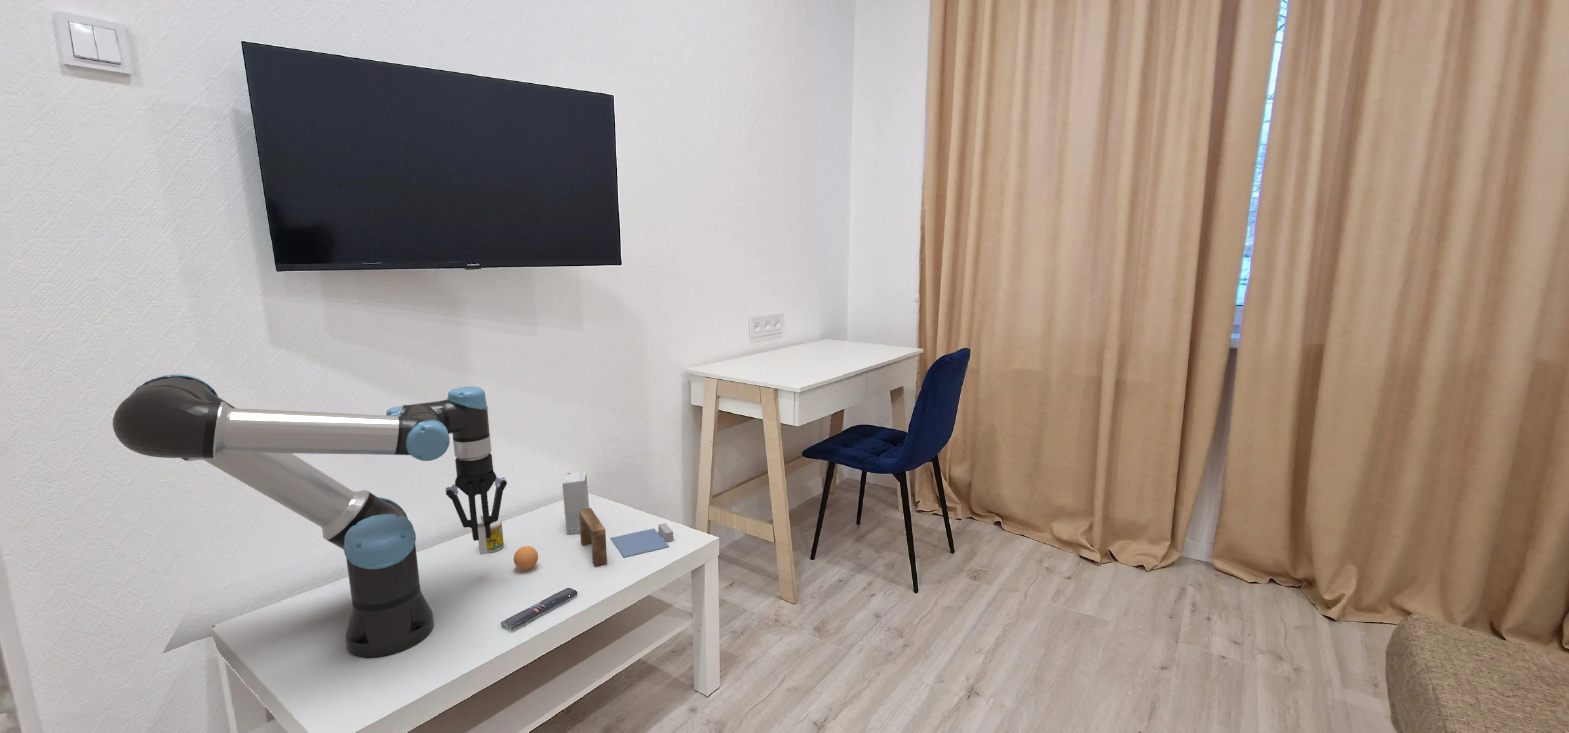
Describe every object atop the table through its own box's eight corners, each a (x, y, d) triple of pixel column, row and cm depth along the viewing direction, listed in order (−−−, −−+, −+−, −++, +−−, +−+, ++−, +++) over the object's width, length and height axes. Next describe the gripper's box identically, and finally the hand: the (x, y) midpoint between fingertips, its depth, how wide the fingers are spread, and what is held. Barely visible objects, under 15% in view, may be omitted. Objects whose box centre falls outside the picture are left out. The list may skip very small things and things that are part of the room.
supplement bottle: (506, 543, 172) (503, 508, 170) (500, 552, 166) (497, 517, 164) (484, 544, 171) (481, 509, 169) (478, 553, 166) (474, 518, 164)
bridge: (594, 567, 160) (592, 531, 158) (580, 542, 172) (579, 510, 170) (607, 564, 161) (605, 529, 159) (592, 540, 174) (590, 507, 172)
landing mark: (623, 557, 164) (623, 557, 164) (610, 538, 175) (610, 537, 175) (669, 547, 170) (669, 546, 170) (654, 529, 181) (654, 528, 180)
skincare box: (588, 533, 178) (585, 481, 175) (565, 535, 176) (562, 482, 173) (590, 520, 186) (587, 470, 183) (567, 521, 184) (565, 471, 181)
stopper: (666, 542, 173) (665, 533, 172) (658, 533, 178) (658, 524, 178) (673, 540, 174) (673, 531, 173) (665, 531, 179) (665, 523, 179)
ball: (516, 576, 155) (514, 554, 154) (512, 566, 160) (511, 545, 159) (540, 570, 158) (539, 549, 157) (536, 560, 162) (535, 540, 161)
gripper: (502, 445, 155) (511, 538, 159) (440, 455, 148) (451, 551, 153) (506, 455, 148) (515, 551, 153) (441, 465, 142) (453, 565, 147)
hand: (483, 551), depth 153 cm, fingers closed
